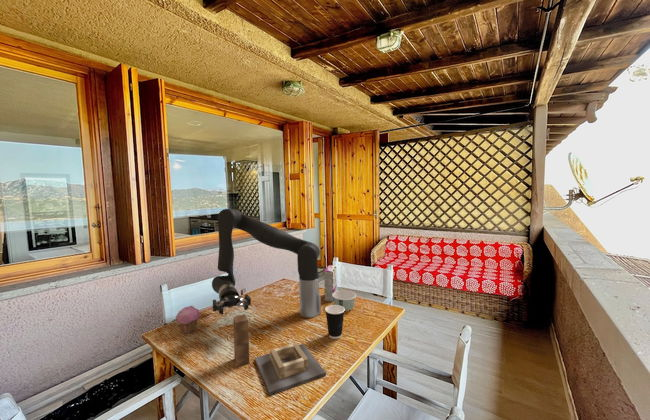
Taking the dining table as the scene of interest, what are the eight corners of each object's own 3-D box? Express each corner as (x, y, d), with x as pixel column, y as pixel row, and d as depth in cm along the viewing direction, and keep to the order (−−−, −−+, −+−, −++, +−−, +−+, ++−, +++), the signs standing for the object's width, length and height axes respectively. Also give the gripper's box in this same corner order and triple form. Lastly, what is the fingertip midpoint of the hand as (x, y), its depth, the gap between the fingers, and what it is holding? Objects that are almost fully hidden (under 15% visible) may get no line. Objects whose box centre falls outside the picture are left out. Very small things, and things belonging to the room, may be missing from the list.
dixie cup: (325, 330, 112) (325, 304, 111) (344, 330, 111) (344, 304, 111) (325, 341, 104) (324, 313, 103) (345, 341, 104) (345, 313, 103)
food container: (355, 313, 127) (355, 300, 127) (330, 311, 129) (330, 298, 129) (357, 303, 139) (357, 291, 138) (334, 301, 141) (334, 289, 140)
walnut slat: (246, 355, 95) (245, 314, 94) (249, 363, 91) (248, 319, 90) (234, 358, 93) (233, 316, 92) (237, 366, 89) (235, 322, 88)
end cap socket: (303, 346, 100) (303, 334, 100) (325, 375, 84) (325, 361, 84) (255, 360, 92) (254, 347, 92) (269, 395, 76) (269, 380, 76)
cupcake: (193, 323, 118) (192, 301, 118) (204, 329, 113) (203, 306, 113) (172, 332, 111) (171, 309, 110) (183, 339, 106) (182, 314, 105)
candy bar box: (328, 293, 152) (328, 265, 151) (337, 294, 151) (336, 265, 150) (324, 301, 141) (323, 270, 140) (333, 302, 140) (333, 271, 139)
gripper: (210, 288, 112) (213, 303, 98) (245, 283, 118) (253, 297, 104) (210, 306, 112) (214, 323, 98) (245, 300, 119) (253, 315, 105)
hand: (234, 309), depth 101 cm, fingers open, 8 cm apart
